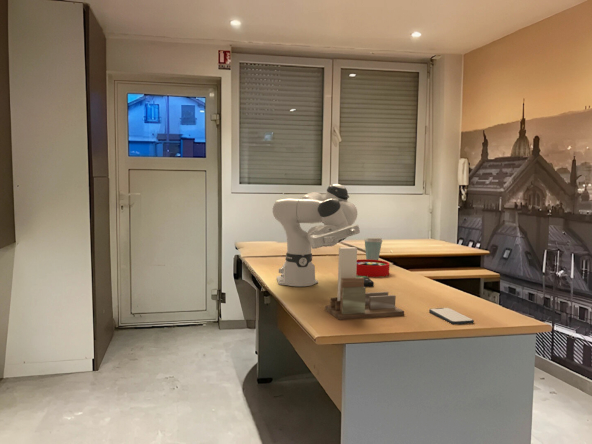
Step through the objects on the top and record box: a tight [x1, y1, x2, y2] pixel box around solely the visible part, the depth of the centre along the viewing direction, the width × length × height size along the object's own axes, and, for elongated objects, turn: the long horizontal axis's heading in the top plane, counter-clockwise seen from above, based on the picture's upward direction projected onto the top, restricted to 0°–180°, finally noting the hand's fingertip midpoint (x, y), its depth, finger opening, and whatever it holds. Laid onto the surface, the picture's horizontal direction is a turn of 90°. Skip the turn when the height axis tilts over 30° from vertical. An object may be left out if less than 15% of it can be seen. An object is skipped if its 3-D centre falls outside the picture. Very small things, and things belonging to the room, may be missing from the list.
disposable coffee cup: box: [363, 237, 383, 260], centre depth 279 cm, size 11×11×15 cm
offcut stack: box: [340, 277, 367, 314], centre depth 164 cm, size 3×8×12 cm, turn 107°
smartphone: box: [428, 307, 475, 325], centre depth 166 cm, size 9×2×16 cm
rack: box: [324, 291, 405, 321], centre depth 170 cm, size 14×25×6 cm, turn 107°
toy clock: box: [356, 258, 390, 278], centre depth 246 cm, size 20×6×20 cm
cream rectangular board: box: [336, 246, 358, 301], centre depth 168 cm, size 2×6×22 cm, turn 107°
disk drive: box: [356, 275, 375, 288], centre depth 220 cm, size 10×3×15 cm
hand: (343, 235), depth 180 cm, fingers open, 8 cm apart
